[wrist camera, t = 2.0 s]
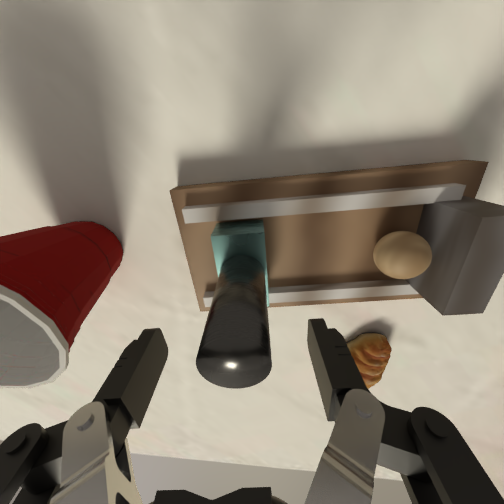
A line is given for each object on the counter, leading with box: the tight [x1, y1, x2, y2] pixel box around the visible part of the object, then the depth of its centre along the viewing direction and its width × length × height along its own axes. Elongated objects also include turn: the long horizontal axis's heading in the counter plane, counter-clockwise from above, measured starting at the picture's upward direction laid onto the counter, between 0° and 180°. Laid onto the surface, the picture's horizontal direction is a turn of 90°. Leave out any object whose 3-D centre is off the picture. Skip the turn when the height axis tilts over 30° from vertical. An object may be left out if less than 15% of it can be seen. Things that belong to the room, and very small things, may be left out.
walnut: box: [373, 231, 432, 279], centre depth 18 cm, size 4×4×4 cm
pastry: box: [346, 333, 391, 389], centre depth 28 cm, size 9×7×4 cm
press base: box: [170, 160, 504, 315], centre depth 19 cm, size 25×13×7 cm, turn 95°
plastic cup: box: [0, 221, 123, 388], centre depth 17 cm, size 11×11×12 cm
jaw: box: [196, 219, 272, 388], centre depth 15 cm, size 4×7×11 cm, turn 5°
